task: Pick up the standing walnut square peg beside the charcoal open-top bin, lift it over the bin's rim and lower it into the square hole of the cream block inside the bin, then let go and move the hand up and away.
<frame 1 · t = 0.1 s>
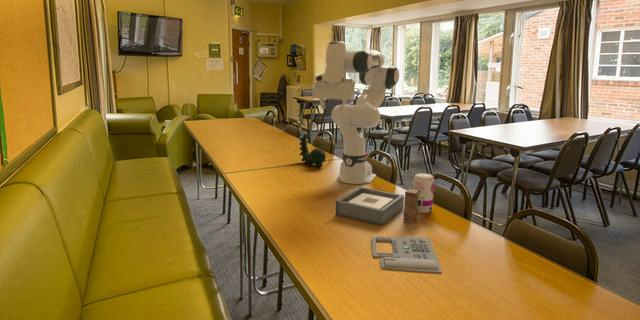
hand: (332, 109, 183), 39 cm above the table, tool pointing down, fingers open, 8 cm apart
open box: (370, 212, 166), on the table
supplement can: (421, 210, 169), on the table
office telephone: (403, 255, 131), on the table
toy figurine: (312, 165, 241), on the table
peg: (410, 220, 158), on the table
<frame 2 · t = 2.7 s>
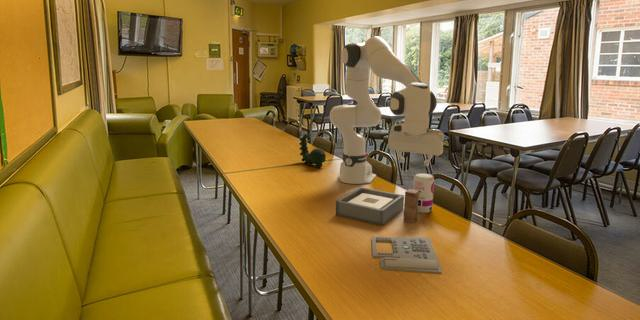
hand: (413, 164, 152), 23 cm above the table, tool pointing down, fingers open, 8 cm apart
nothing on the table moved.
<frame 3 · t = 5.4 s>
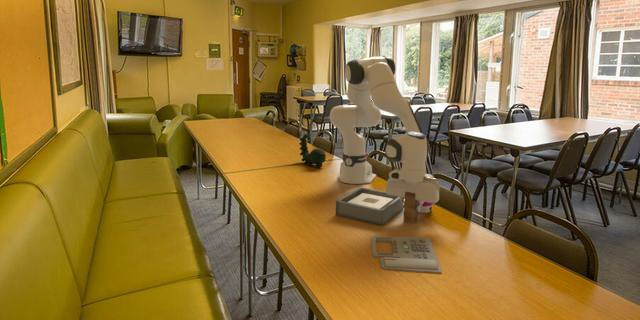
hand: (410, 209, 156), 5 cm above the table, tool pointing down, fingers closed on peg, 4 cm apart
peg: (410, 220, 158), on the table, touching gripper
everything else where it was.
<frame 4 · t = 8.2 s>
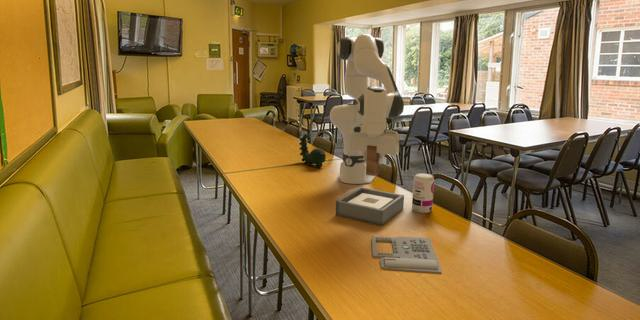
hand: (373, 163, 162), 21 cm above the table, tool pointing down, fingers closed on peg, 4 cm apart
peg: (372, 174, 163), point 16 cm above the table, touching gripper
everything else where it was.
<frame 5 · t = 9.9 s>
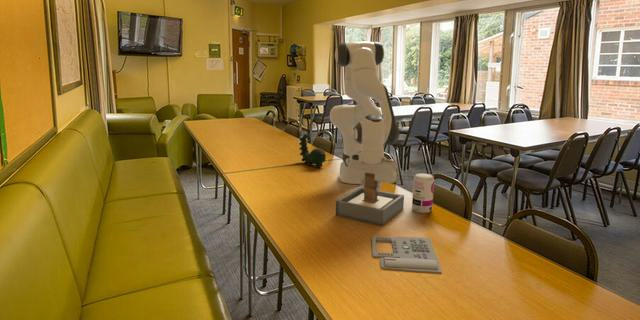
hand: (371, 190, 164), 9 cm above the table, tool pointing down, fingers closed on peg, 4 cm apart
peg: (370, 200, 165), point 5 cm above the table, touching gripper
everything else where it was.
when the fingers open (7 cm above the table, at t = 11.0 s): peg drops 1 cm, resting on open box.
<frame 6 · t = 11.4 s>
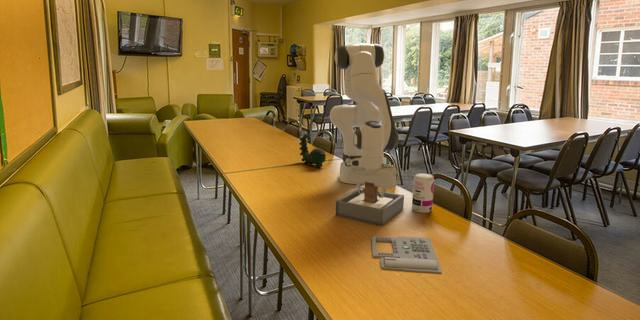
hand: (370, 195, 165), 7 cm above the table, tool pointing down, fingers open, 8 cm apart
peg: (370, 209, 166), point 1 cm above the table, touching open box
everything else where it was.
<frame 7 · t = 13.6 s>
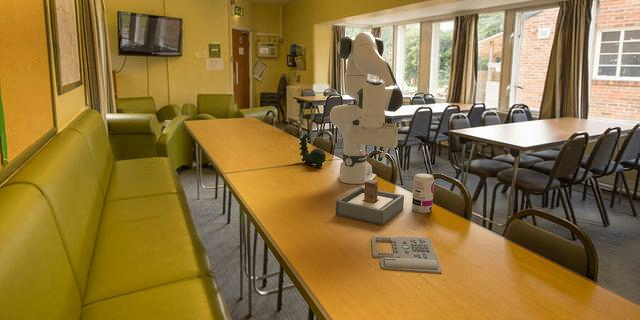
hand: (371, 156, 162), 23 cm above the table, tool pointing down, fingers open, 8 cm apart
nothing on the table moved.
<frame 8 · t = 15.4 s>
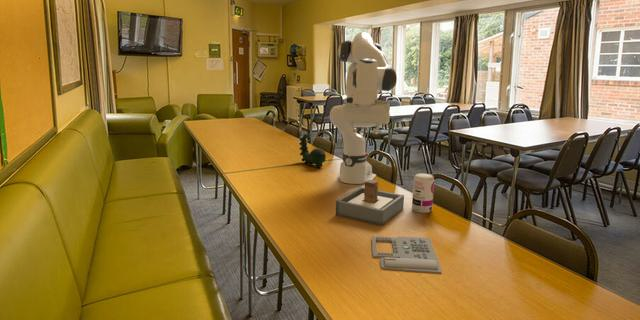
hand: (365, 133, 168), 31 cm above the table, tool pointing down, fingers open, 8 cm apart
nothing on the table moved.
at the end: peg 0.0 cm off-centre on the open box, point 1.0 cm above the open box's base; peg tilted 0°; the gripper is holding nothing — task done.
